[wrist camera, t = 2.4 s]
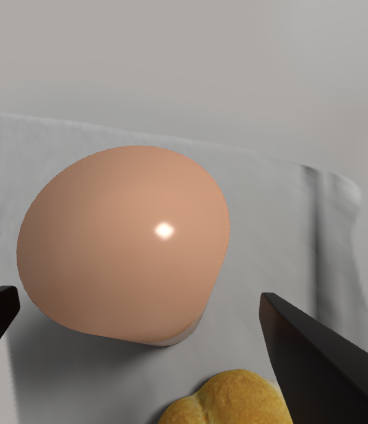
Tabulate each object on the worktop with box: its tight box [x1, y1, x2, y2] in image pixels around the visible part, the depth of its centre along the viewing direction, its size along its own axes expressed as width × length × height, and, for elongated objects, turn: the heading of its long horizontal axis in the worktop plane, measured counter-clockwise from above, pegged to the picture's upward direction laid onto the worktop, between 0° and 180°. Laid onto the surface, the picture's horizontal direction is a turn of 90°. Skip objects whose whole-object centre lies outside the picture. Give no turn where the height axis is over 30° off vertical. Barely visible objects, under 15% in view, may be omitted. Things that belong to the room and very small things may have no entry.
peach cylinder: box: [16, 146, 230, 346], centre depth 12 cm, size 6×6×12 cm
